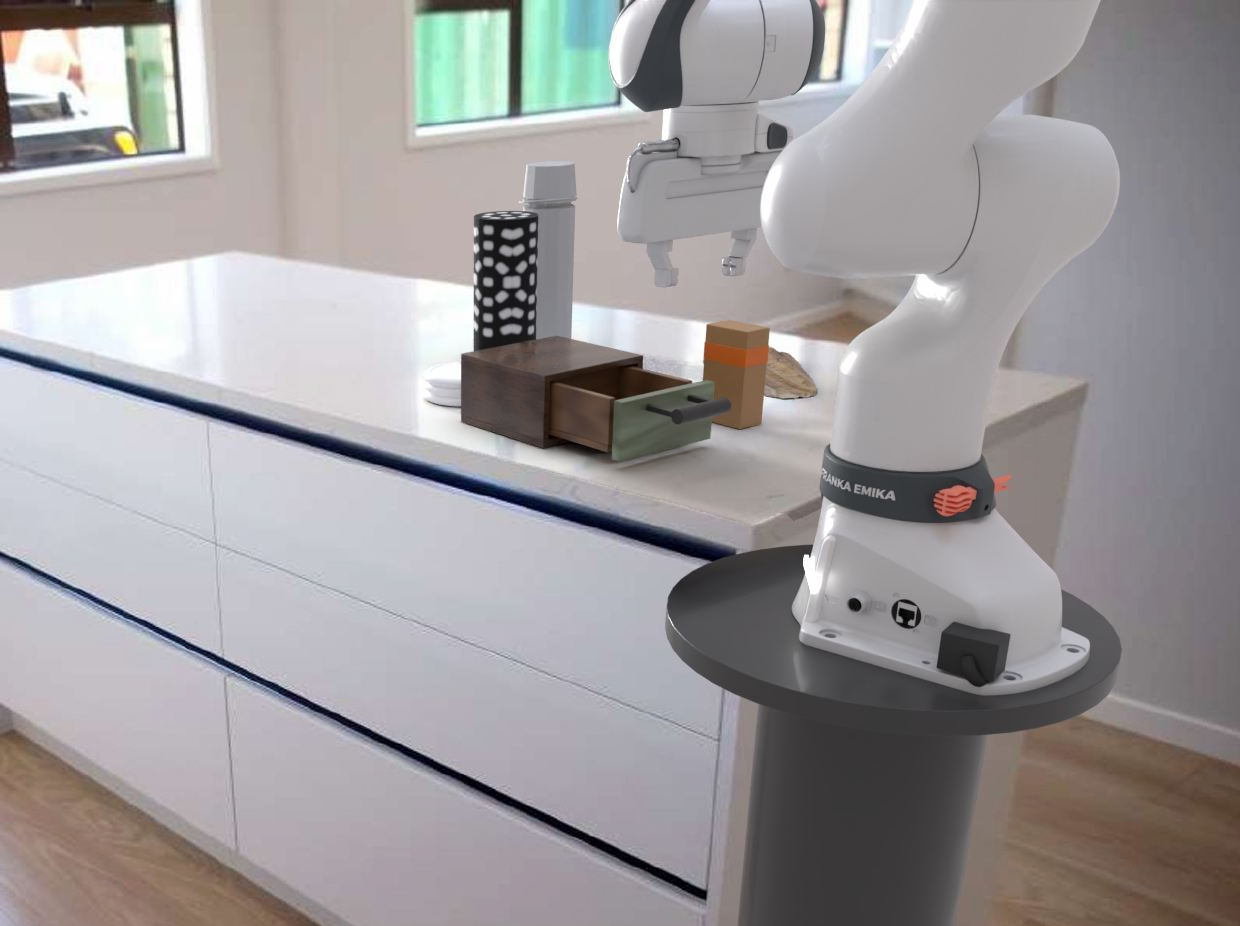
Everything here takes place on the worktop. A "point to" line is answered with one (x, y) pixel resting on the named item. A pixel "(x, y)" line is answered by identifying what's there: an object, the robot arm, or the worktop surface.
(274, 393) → the worktop surface
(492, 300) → the white-spotted black cylinder
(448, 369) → the white round shallow piece
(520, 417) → the cabinet
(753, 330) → the block
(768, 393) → the fish fossil
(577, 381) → the drawer
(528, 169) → the water bottle
